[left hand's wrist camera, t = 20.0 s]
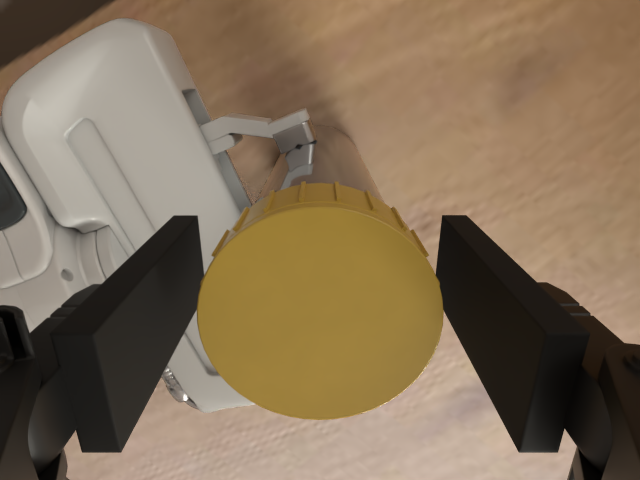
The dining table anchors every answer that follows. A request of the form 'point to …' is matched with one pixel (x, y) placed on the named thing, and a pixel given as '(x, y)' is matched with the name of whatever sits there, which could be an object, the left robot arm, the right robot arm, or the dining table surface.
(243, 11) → the dining table surface
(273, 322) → the lid
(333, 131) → the jar
